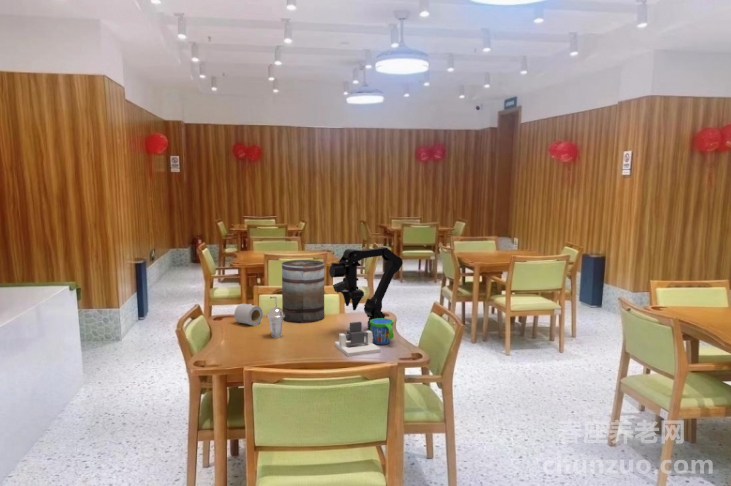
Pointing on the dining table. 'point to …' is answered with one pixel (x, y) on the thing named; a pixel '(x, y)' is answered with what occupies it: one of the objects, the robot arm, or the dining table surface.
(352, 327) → the bracket
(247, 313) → the toilet paper
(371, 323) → the snack cup
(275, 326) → the cup with straw
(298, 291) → the barrel
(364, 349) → the white square base
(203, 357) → the dining table surface
